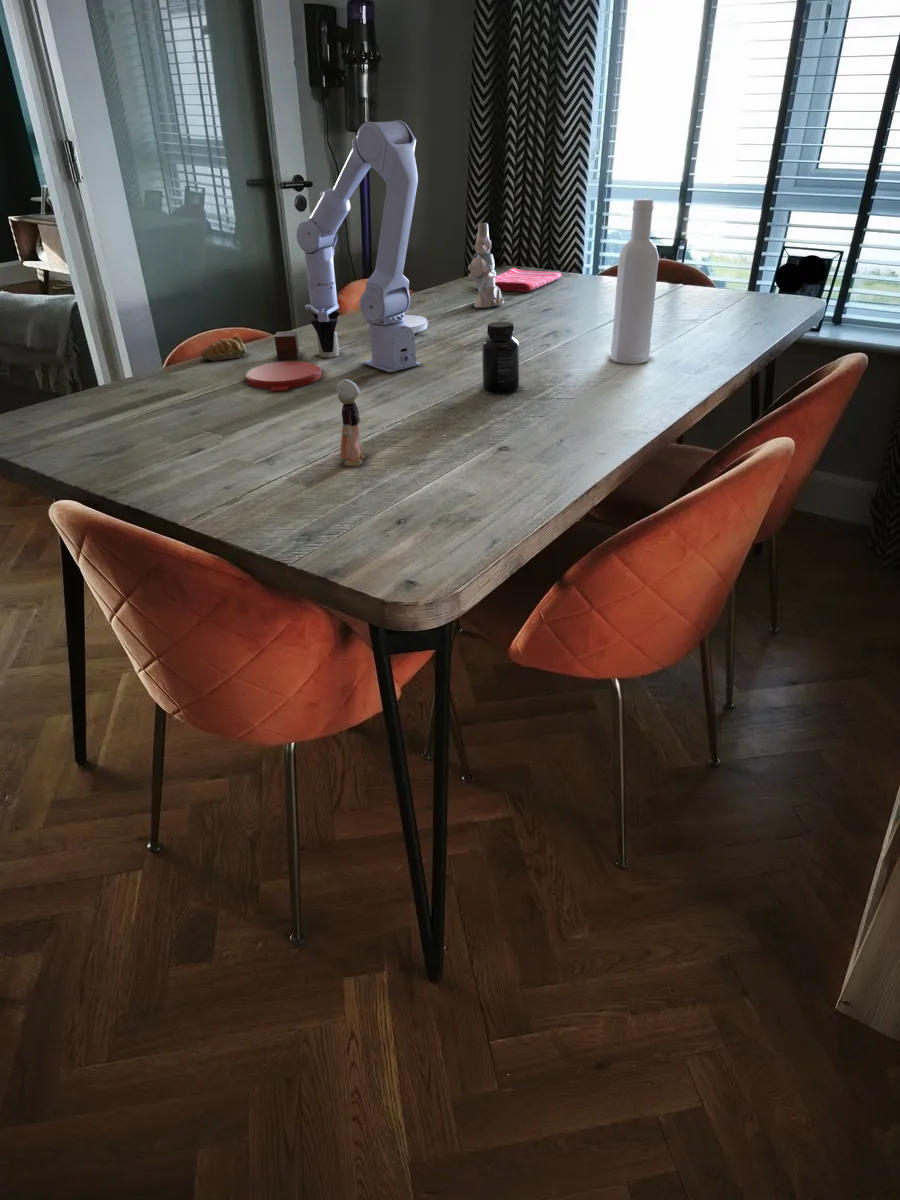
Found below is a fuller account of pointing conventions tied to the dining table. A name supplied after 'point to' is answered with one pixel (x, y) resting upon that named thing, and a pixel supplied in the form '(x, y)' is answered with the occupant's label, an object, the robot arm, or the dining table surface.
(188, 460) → the dining table surface
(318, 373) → the red lid
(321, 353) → the spice pot
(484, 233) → the figurine
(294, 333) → the walnut block
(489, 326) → the supplement bottle
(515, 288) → the dish towel
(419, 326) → the plastic lid
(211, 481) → the dining table surface
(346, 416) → the grandmother figurine
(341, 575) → the dining table surface
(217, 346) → the pastry
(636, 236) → the bottle
